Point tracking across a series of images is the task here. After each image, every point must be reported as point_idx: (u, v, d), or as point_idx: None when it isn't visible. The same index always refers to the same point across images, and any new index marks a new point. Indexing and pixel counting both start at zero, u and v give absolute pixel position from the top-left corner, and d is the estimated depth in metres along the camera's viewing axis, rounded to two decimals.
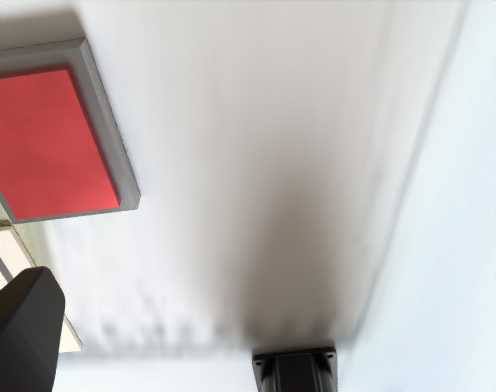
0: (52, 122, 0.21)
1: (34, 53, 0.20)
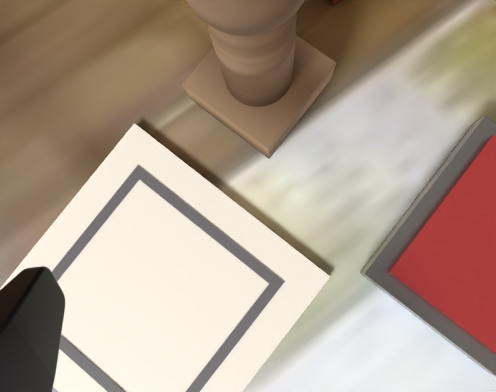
0: None
1: None
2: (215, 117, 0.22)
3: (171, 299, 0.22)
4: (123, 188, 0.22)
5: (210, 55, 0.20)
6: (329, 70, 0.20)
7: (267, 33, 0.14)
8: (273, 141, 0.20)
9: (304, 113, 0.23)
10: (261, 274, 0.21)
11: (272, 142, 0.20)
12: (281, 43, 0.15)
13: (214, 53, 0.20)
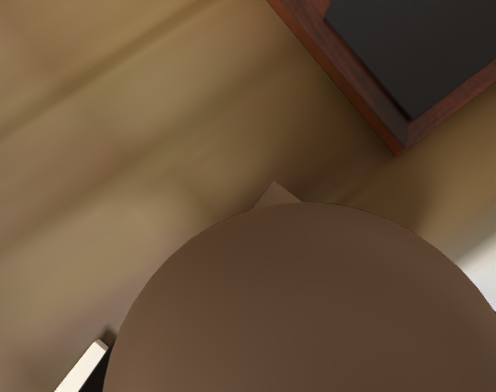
0: None
1: None
2: None
3: None
4: None
5: None
6: None
7: None
8: None
9: None
10: None
11: None
12: None
13: None
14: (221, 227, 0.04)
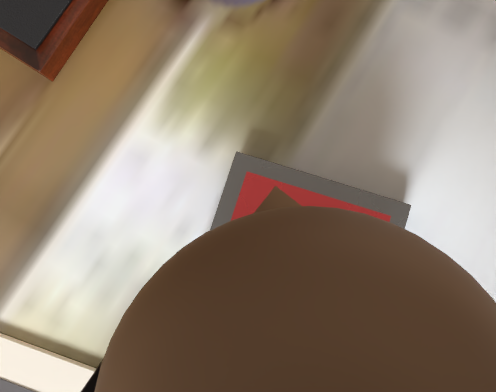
0: None
1: (359, 189, 0.18)
2: None
3: None
4: None
5: None
6: None
7: None
8: None
9: None
10: None
11: None
12: None
13: None
14: (217, 232, 0.04)
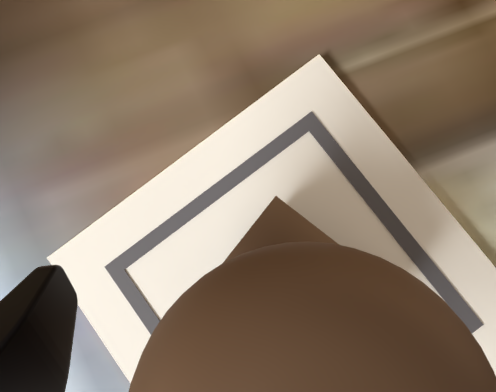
0: None
1: None
2: None
3: None
4: (283, 138, 0.16)
5: None
6: None
7: None
8: None
9: None
10: (452, 305, 0.15)
11: None
12: None
13: None
14: (231, 269, 0.04)
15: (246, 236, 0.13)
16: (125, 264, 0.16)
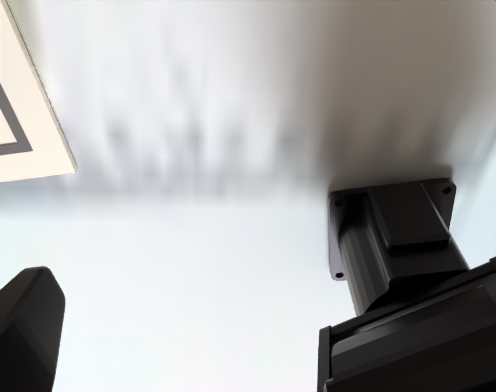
0: None
1: None
2: None
3: None
4: None
5: None
6: None
7: None
8: None
9: None
10: None
11: None
12: None
13: None
14: None
15: None
16: None
